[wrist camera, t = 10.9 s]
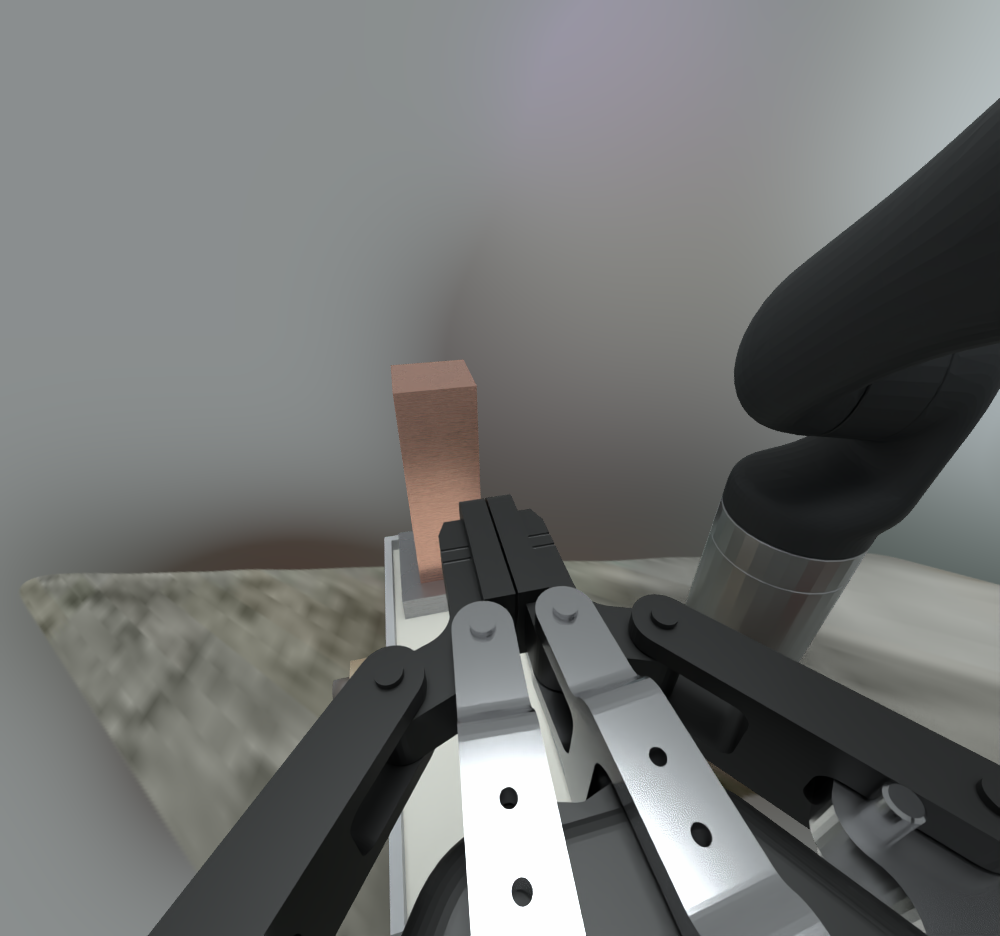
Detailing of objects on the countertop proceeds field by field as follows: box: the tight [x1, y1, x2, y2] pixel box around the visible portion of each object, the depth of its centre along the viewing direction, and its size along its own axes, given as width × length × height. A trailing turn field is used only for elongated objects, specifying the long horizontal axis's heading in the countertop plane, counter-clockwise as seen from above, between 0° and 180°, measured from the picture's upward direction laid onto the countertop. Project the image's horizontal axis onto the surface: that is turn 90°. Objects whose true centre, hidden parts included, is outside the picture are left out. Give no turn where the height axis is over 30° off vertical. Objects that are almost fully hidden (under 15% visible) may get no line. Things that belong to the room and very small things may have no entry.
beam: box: [385, 535, 572, 936], centre depth 31 cm, size 26×10×3 cm, turn 13°
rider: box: [391, 360, 480, 619], centre depth 33 cm, size 8×8×18 cm
